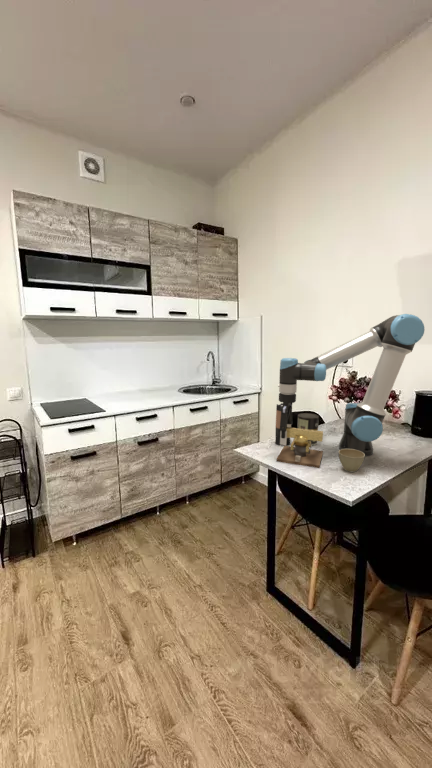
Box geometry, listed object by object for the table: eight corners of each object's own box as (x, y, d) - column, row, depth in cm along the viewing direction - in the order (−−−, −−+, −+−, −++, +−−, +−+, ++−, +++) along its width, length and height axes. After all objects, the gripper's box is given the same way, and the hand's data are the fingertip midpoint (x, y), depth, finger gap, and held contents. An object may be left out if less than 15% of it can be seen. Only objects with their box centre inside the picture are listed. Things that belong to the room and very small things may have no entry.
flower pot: (338, 463, 144) (339, 447, 143) (363, 466, 140) (364, 450, 139) (336, 472, 135) (338, 455, 133) (363, 476, 131) (365, 459, 130)
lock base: (322, 453, 155) (323, 441, 154) (319, 468, 138) (319, 454, 137) (284, 447, 161) (284, 436, 160) (276, 461, 145) (276, 448, 144)
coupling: (322, 448, 149) (323, 429, 148) (320, 454, 142) (322, 434, 141) (282, 442, 156) (283, 424, 155) (279, 448, 149) (279, 429, 147)
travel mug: (290, 446, 163) (292, 407, 160) (274, 445, 165) (276, 406, 161) (290, 441, 170) (292, 403, 167) (275, 440, 172) (276, 402, 169)
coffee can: (317, 440, 173) (319, 414, 171) (316, 446, 163) (318, 419, 161) (297, 438, 176) (298, 412, 174) (295, 444, 167) (296, 417, 164)
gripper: (284, 388, 159) (282, 433, 163) (273, 396, 139) (271, 447, 142) (299, 389, 156) (297, 435, 160) (291, 398, 136) (289, 450, 140)
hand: (285, 441), depth 151 cm, fingers open, 10 cm apart
